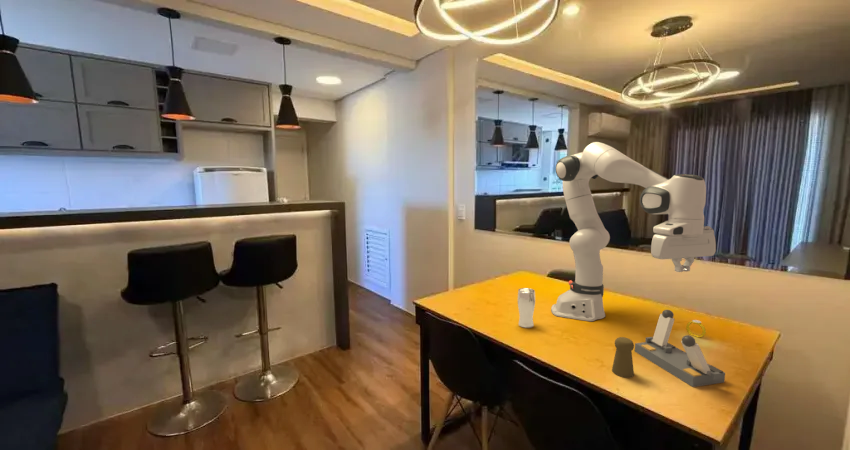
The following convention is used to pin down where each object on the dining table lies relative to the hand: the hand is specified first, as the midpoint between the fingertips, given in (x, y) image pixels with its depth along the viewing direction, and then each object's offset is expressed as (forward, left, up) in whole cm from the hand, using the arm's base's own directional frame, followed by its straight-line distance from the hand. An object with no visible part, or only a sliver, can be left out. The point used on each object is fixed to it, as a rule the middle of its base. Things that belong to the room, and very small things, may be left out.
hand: (682, 271), depth 110 cm
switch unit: (0, 0, -31) cm, 31 cm away
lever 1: (-3, +6, -28) cm, 29 cm away
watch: (+15, +27, -31) cm, 44 cm away
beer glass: (-47, +21, -31) cm, 60 cm away
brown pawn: (-17, -9, -31) cm, 37 cm away
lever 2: (+4, -8, -28) cm, 30 cm away
